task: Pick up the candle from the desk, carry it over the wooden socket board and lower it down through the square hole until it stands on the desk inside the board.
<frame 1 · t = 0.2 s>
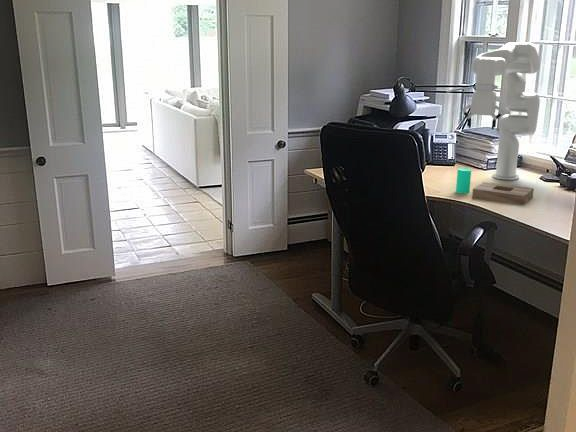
hand: (481, 128, 264), 30 cm above the table, tool pointing down, fingers open, 9 cm apart
wooden socket board: (502, 197, 270), on the table
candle: (462, 192, 280), on the table
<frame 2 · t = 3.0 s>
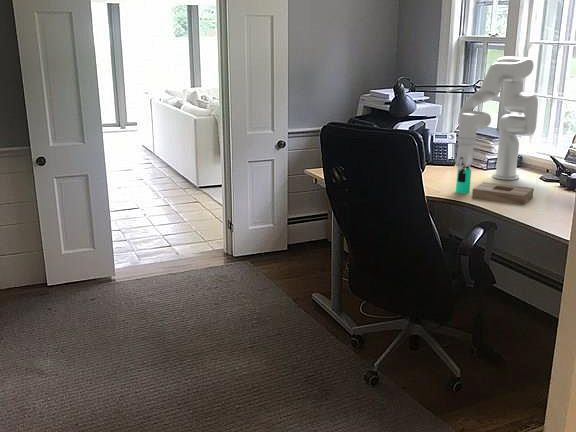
hand: (463, 180, 278), 5 cm above the table, tool pointing down, fingers closed on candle, 4 cm apart
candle: (462, 192, 280), on the table, touching gripper
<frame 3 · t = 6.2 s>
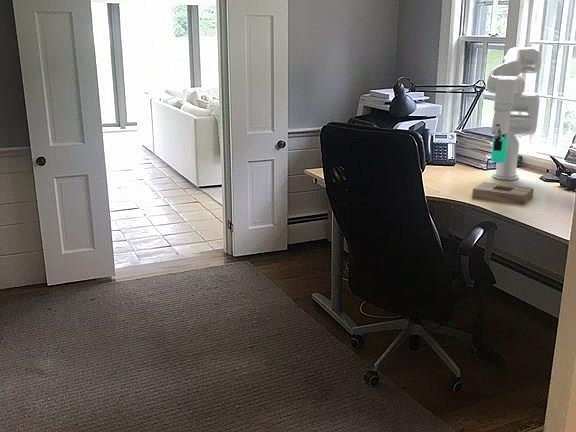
hand: (499, 149, 266), 21 cm above the table, tool pointing down, fingers closed on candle, 4 cm apart
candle: (498, 161, 268), point 16 cm above the table, touching gripper
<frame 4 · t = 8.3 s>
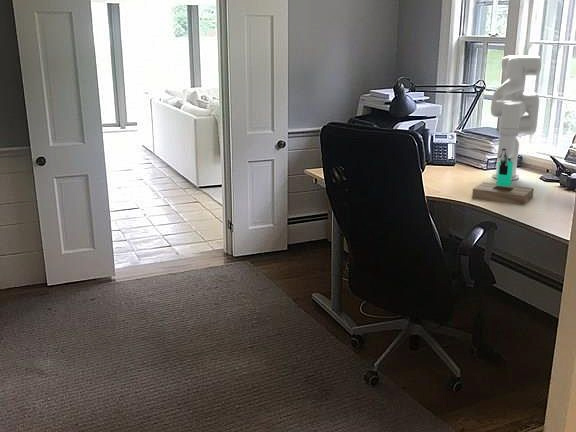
hand: (504, 172, 267), 11 cm above the table, tool pointing down, fingers closed on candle, 4 cm apart
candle: (503, 185, 269), point 5 cm above the table, touching gripper
when the fingers open (6 cm above the table, at t = 9.6 s): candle drops 1 cm, resting in wooden socket board.
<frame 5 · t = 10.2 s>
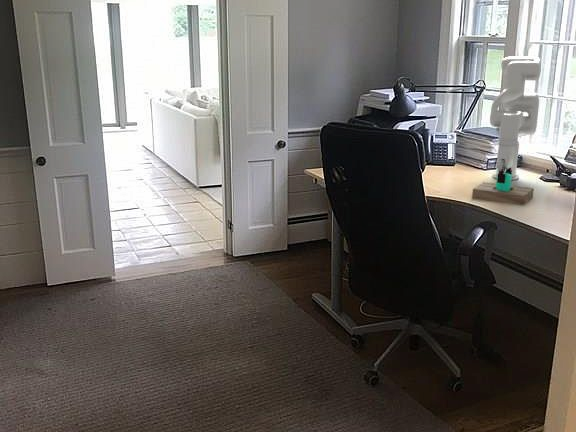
hand: (504, 180, 268), 8 cm above the table, tool pointing down, fingers open, 9 cm apart
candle: (502, 197, 270), resting in wooden socket board
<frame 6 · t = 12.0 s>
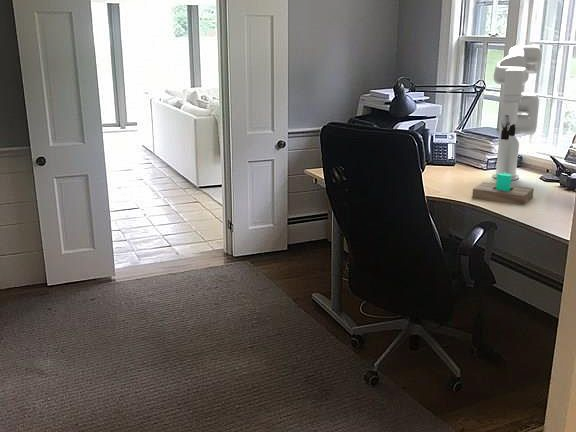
hand: (507, 137, 268), 26 cm above the table, tool pointing down, fingers open, 9 cm apart
nothing on the table moved.
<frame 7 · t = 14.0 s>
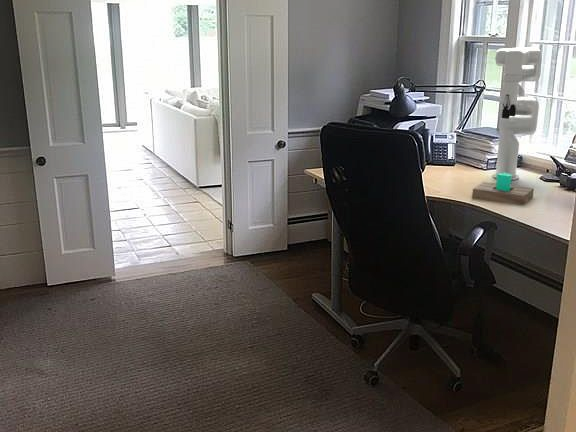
hand: (508, 117, 276), 33 cm above the table, tool pointing down, fingers open, 9 cm apart
nothing on the table moved.
at the end: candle 0.2 cm off-centre on the wooden socket board, point 0.0 cm above the wooden socket board's base; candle tilted 0°; the gripper is holding nothing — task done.
